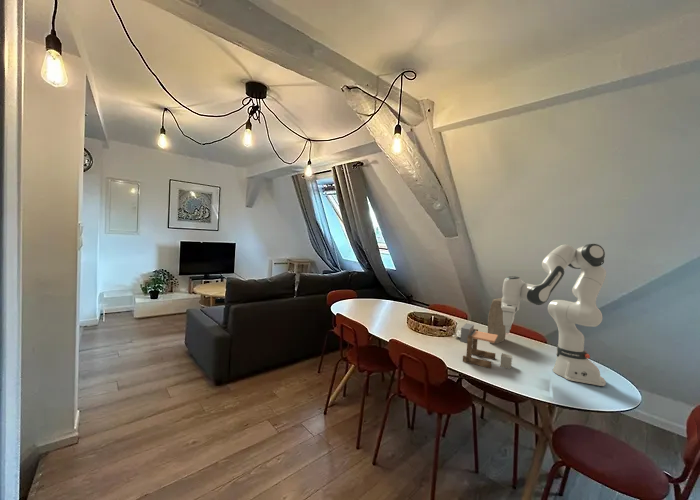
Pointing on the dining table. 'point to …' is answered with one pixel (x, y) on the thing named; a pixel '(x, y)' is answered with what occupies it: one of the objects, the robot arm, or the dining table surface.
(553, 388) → the dining table surface
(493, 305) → the stone tablet
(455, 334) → the lotus flower
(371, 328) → the dining table surface
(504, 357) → the stone
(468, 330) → the hammer
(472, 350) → the frame
